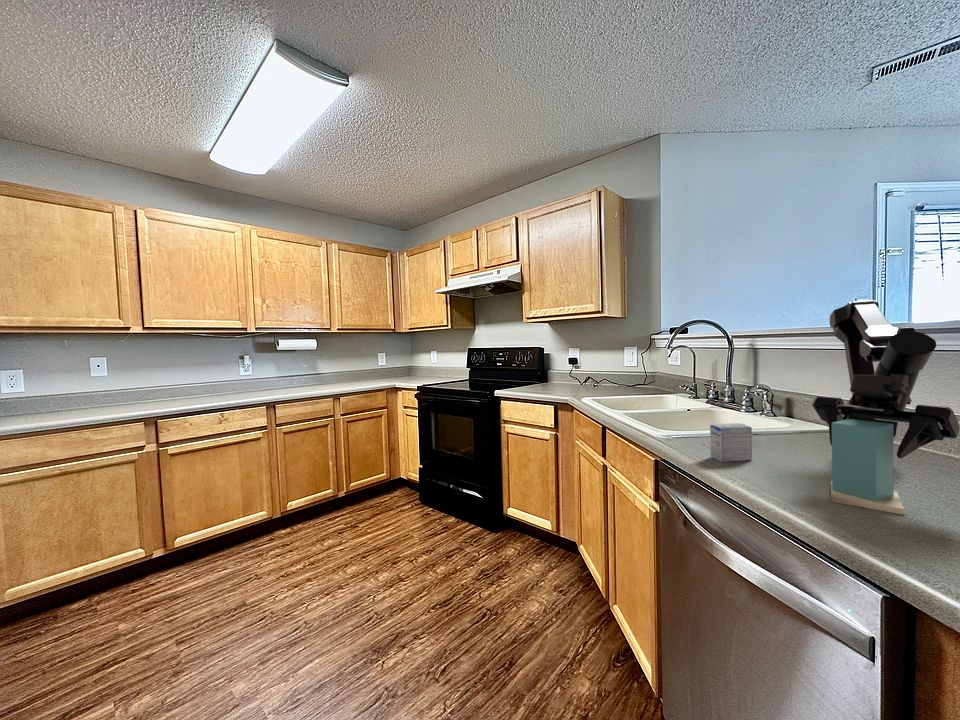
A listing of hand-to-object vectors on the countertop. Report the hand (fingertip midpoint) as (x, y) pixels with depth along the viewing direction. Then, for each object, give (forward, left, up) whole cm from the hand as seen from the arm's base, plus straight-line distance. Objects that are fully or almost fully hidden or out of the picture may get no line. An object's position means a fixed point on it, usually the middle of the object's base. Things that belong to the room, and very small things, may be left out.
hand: (863, 450), depth 70 cm
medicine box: (-14, -23, -9) cm, 28 cm away
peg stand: (0, 0, -9) cm, 9 cm away
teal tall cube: (0, 0, -8) cm, 8 cm away
